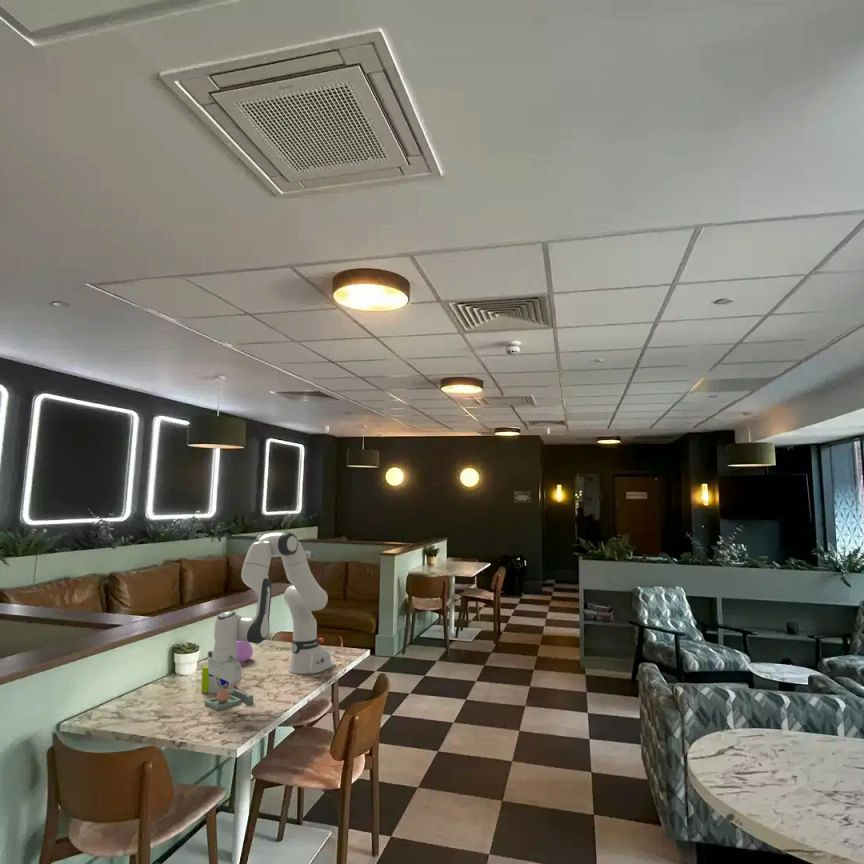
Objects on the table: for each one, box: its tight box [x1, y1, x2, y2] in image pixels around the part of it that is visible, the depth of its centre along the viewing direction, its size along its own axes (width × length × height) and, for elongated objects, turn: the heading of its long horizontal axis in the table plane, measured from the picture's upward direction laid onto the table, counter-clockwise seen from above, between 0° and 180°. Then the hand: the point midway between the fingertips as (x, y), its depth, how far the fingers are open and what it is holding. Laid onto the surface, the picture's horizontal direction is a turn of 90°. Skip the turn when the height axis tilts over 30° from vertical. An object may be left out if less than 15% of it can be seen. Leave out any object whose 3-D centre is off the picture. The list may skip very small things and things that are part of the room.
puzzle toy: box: [201, 664, 237, 694], centre depth 242 cm, size 10×10×10 cm
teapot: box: [236, 641, 254, 665], centre depth 281 cm, size 20×14×12 cm
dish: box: [204, 695, 242, 711], centre depth 223 cm, size 10×10×2 cm
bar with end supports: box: [223, 685, 254, 706], centre depth 229 cm, size 2×19×3 cm, turn 49°
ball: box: [216, 689, 230, 703], centre depth 224 cm, size 5×5×5 cm
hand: (224, 690), depth 224 cm, fingers open, 8 cm apart
